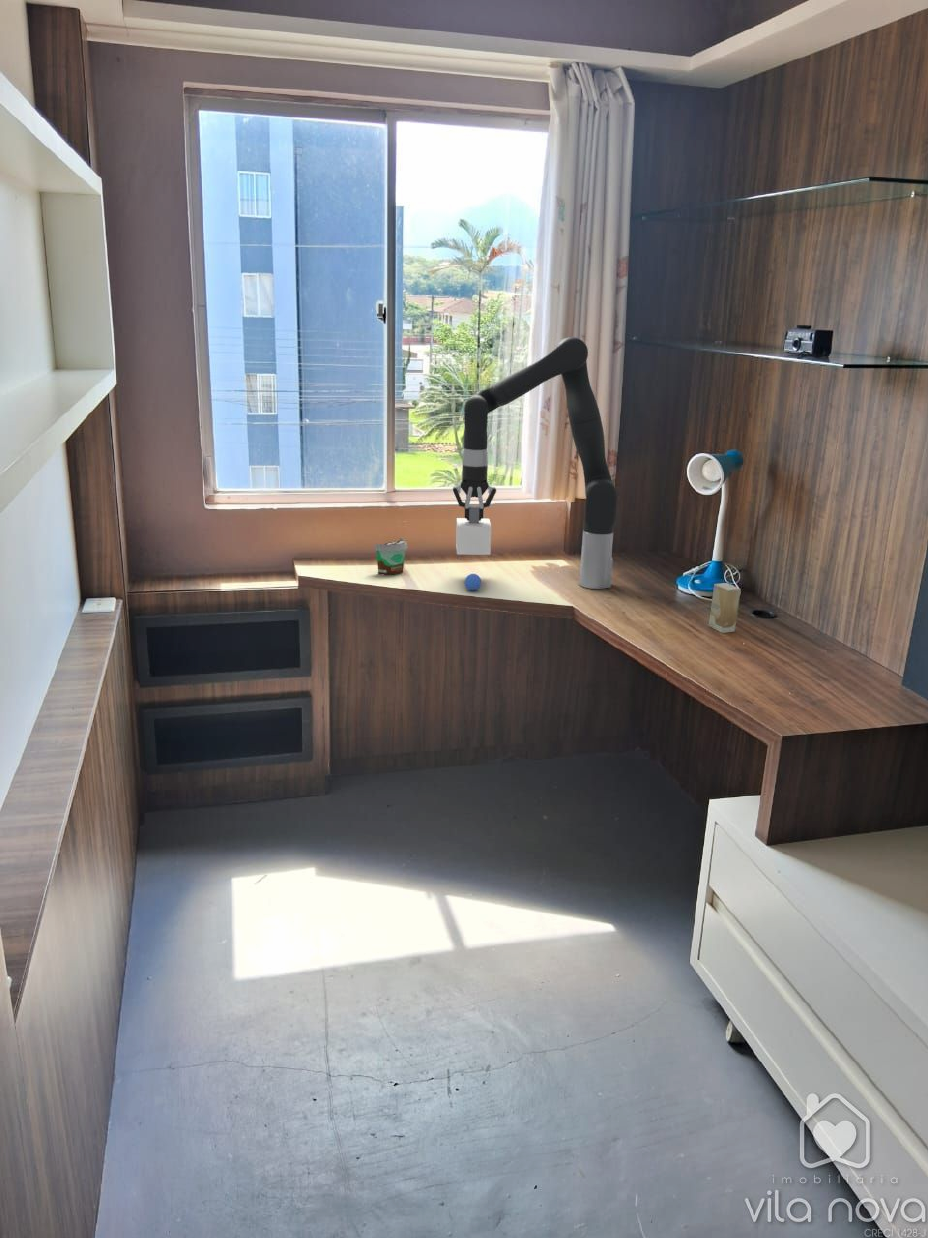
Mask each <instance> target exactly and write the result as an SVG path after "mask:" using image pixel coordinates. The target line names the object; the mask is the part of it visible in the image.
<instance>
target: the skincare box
mask: <svg viewBox="0 0 928 1238" xmlns="http://www.w3.org/2000/svg"><path fill="white" fill-rule="evenodd" d="M713 585H714V586H713V592H712V598H711V606H710V614H709V620H708V627H710V628H712V629H714V630H716V631H717V632H719V633H721V634H725V633H734V632H735V630H736V624H737V617H738V611H739V610H738V609H739V605H740V599H741V598H740V596H741V590H742V589H741V588H739V587H737V586H735V585H732V584H730V583H727V582H723V583H722V582H721V583H720V582H719V583H714V584H713Z"/></svg>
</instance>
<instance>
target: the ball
mask: <svg viewBox="0 0 928 1238" xmlns="http://www.w3.org/2000/svg"><path fill="white" fill-rule="evenodd" d="M464 585H465V588H466V589H468V590H470V591H477V590H478V589H480V587H481V586H482V579H481V577H480V575H478V574H476V573H471V574H468V575H467V576H466V577H465V578H464Z"/></svg>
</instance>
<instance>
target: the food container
mask: <svg viewBox="0 0 928 1238" xmlns="http://www.w3.org/2000/svg"><path fill="white" fill-rule="evenodd" d="M407 549H408V544H407V541H406V539H405V538H402V537H399V540H398V541H389V542H386V543H383V544H380V543H376V544H375V547H374V551H376V564H377V574H378V575H381V574H384V575H383V576H396V574H398V575H402V574H403V573H404V566H405V556H406V550H407Z"/></svg>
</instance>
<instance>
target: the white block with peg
mask: <svg viewBox="0 0 928 1238" xmlns="http://www.w3.org/2000/svg"><path fill="white" fill-rule="evenodd" d="M455 532H456V533H455V535H456V536H455V537H456V538H455V539H456V540H455V546H456V547H455V548H456V555H465V556H466V555H467V556H468V555H470V556H471V555H475V556H490V555H491V554H492V553H491V552H492V551H491V550H492V549H491V548H492V547H491V546H492V523H491V520H490V518H483V519H481V521H479V504H478V505H476V504H469V521H467V519H465V517H464V518H463V517H457V518H456V531H455Z"/></svg>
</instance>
